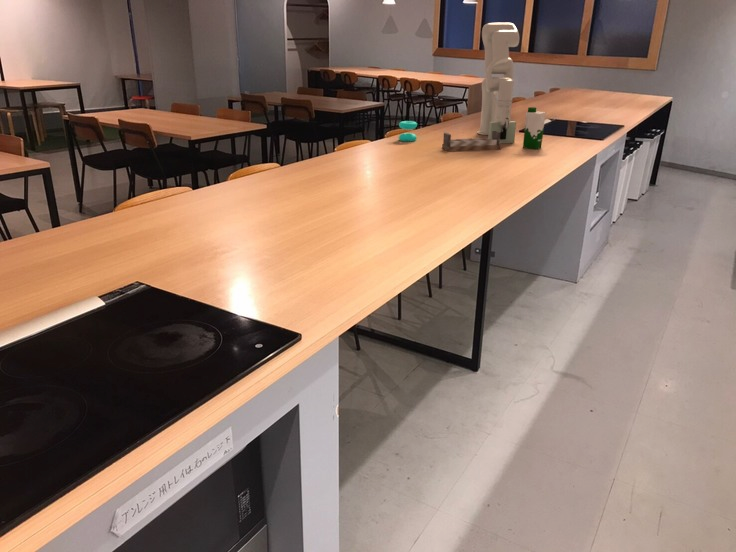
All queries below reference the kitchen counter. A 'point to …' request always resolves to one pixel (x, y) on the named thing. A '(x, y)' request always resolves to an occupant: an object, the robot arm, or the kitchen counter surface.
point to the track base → (471, 143)
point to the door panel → (509, 134)
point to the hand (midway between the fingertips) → (501, 138)
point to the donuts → (407, 135)
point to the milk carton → (533, 128)
